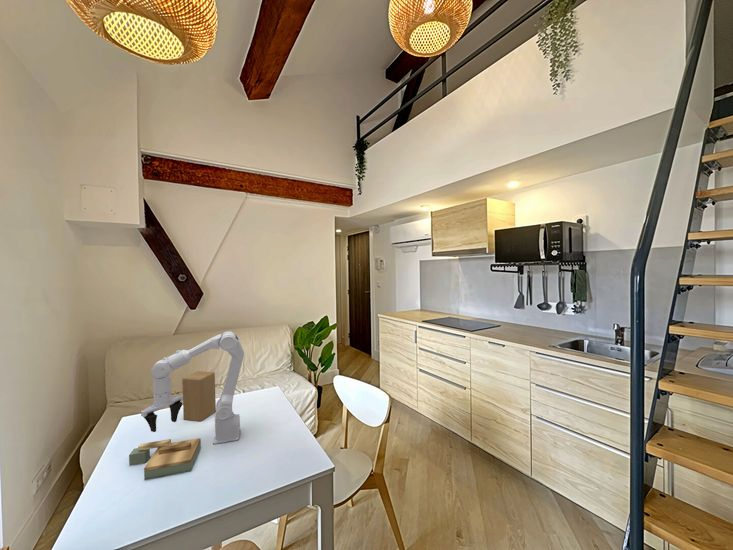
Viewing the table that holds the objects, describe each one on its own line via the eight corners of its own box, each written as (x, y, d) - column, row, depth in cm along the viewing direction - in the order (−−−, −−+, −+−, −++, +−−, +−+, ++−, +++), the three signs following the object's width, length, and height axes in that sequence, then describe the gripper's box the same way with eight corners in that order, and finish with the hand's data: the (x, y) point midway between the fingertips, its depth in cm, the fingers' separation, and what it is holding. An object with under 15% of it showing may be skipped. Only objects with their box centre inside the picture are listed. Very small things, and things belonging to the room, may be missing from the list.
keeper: (150, 456, 113) (149, 446, 113) (145, 462, 109) (145, 452, 109) (134, 459, 111) (134, 448, 111) (129, 465, 107) (129, 455, 107)
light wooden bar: (171, 442, 114) (171, 438, 114) (169, 445, 112) (169, 441, 112) (140, 447, 111) (140, 443, 111) (138, 450, 109) (138, 446, 109)
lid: (200, 440, 117) (200, 434, 117) (190, 462, 104) (190, 455, 104) (159, 447, 113) (159, 440, 113) (144, 471, 100) (143, 463, 100)
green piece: (201, 448, 117) (200, 440, 117) (191, 471, 104) (190, 462, 104) (160, 455, 113) (159, 447, 113) (144, 480, 100) (144, 471, 100)
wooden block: (199, 410, 150) (197, 370, 150) (216, 411, 148) (215, 371, 148) (183, 420, 140) (181, 378, 140) (201, 421, 138) (200, 379, 138)
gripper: (174, 383, 123) (176, 415, 124) (135, 397, 110) (137, 433, 111) (185, 385, 120) (187, 418, 121) (146, 400, 107) (148, 437, 108)
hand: (164, 426), depth 115 cm, fingers open, 7 cm apart
